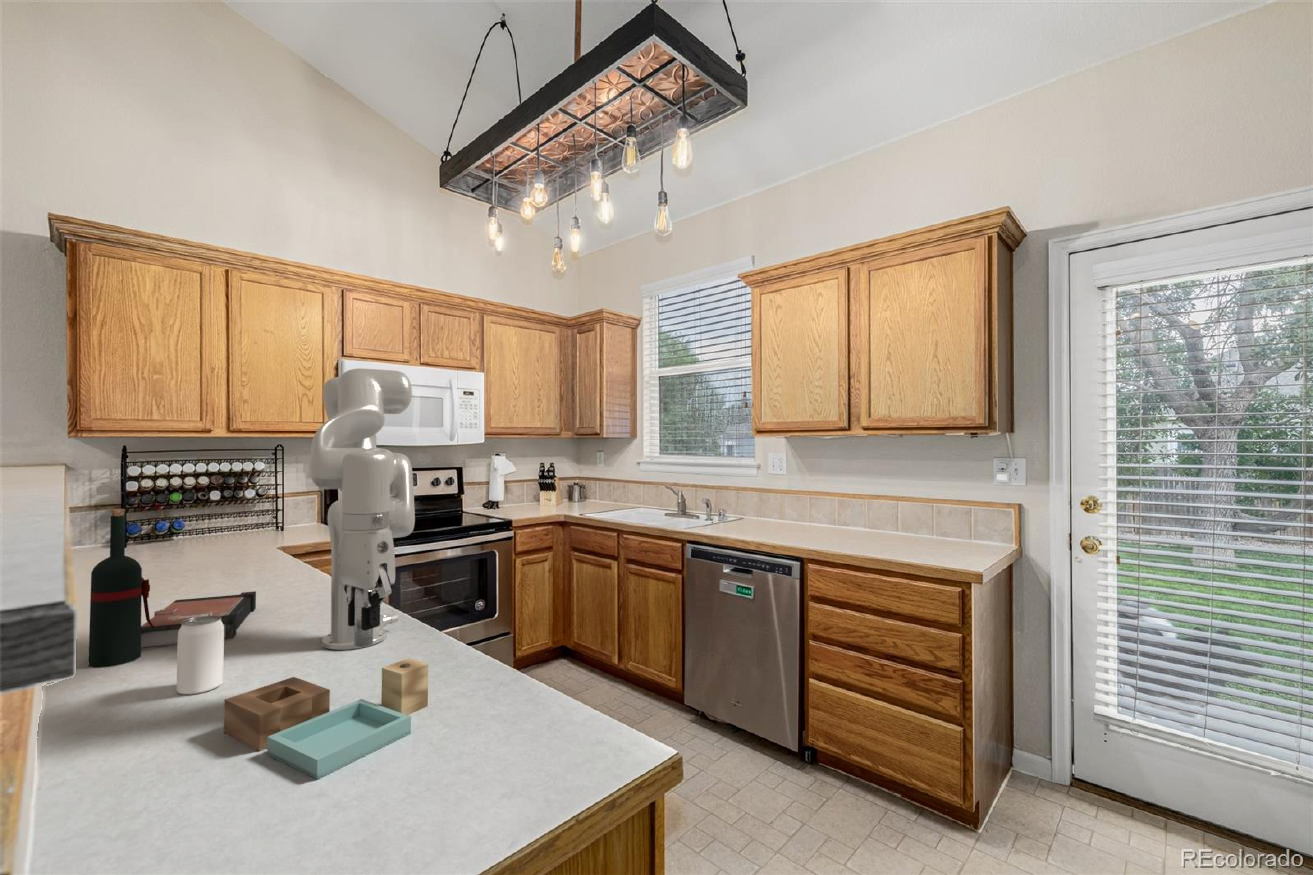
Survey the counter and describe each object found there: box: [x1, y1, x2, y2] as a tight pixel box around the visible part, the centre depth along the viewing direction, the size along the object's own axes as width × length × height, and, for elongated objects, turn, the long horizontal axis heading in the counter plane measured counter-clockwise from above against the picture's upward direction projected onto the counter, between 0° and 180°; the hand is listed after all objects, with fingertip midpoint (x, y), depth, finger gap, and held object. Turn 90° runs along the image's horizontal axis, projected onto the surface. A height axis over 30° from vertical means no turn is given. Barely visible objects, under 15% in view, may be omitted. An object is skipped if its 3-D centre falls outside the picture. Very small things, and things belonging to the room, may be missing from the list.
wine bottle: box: [87, 508, 156, 669], centre depth 117 cm, size 8×10×30 cm
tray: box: [266, 698, 412, 780], centre depth 84 cm, size 14×12×2 cm
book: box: [141, 590, 257, 650], centre depth 137 cm, size 26×18×5 cm
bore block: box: [223, 676, 331, 752], centre depth 88 cm, size 10×10×5 cm
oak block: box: [380, 657, 429, 716], centre depth 95 cm, size 5×5×7 cm
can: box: [176, 616, 225, 696], centre depth 103 cm, size 6×6×12 cm
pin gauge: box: [354, 587, 374, 648], centre depth 102 cm, size 3×3×10 cm
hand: (363, 625), depth 102 cm, fingers closed on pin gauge, 3 cm apart
